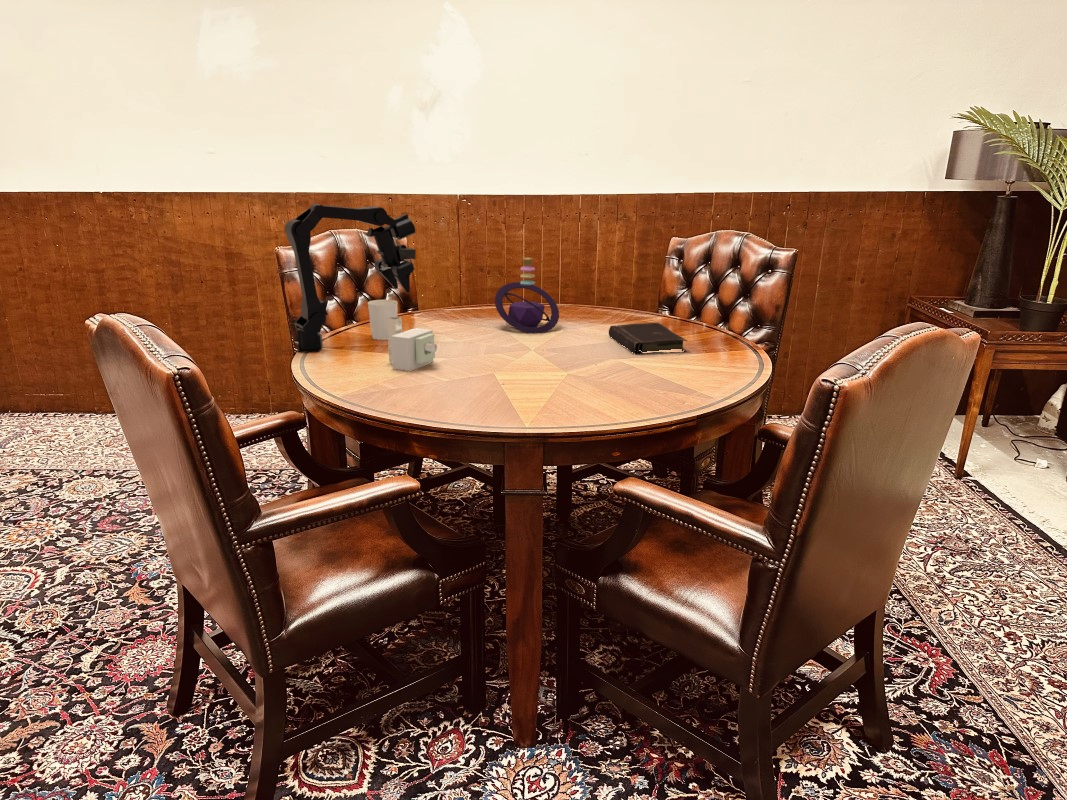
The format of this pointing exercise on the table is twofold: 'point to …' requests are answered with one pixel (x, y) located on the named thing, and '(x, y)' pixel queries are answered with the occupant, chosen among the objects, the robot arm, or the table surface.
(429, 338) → the spacer
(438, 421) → the table surface
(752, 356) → the table surface
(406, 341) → the block
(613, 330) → the diary
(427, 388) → the table surface
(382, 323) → the candle holder
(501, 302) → the decorative bottle
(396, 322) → the grey piece
